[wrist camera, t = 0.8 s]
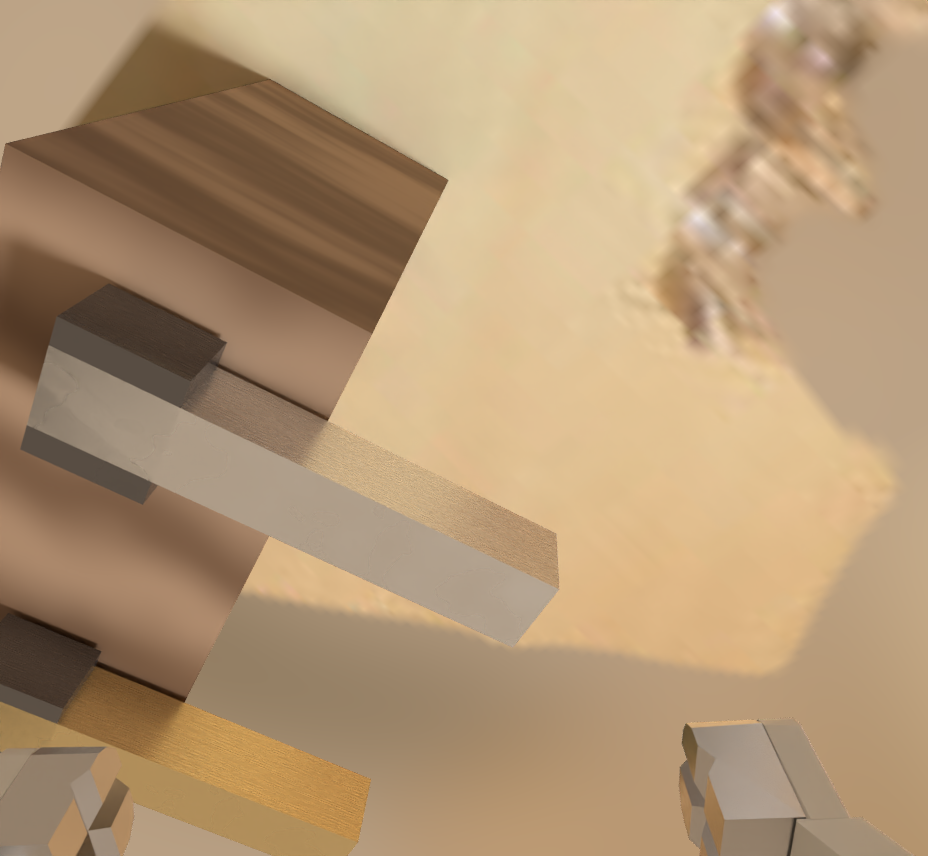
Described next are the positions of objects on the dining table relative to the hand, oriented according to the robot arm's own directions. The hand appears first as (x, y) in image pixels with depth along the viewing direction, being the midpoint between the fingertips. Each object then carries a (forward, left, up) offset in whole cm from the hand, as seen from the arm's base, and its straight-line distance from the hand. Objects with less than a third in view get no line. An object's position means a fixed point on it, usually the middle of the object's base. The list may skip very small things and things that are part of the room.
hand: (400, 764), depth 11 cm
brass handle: (+22, -3, -15) cm, 27 cm away
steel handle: (+6, -3, -15) cm, 16 cm away
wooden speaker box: (+14, -9, -41) cm, 45 cm away
